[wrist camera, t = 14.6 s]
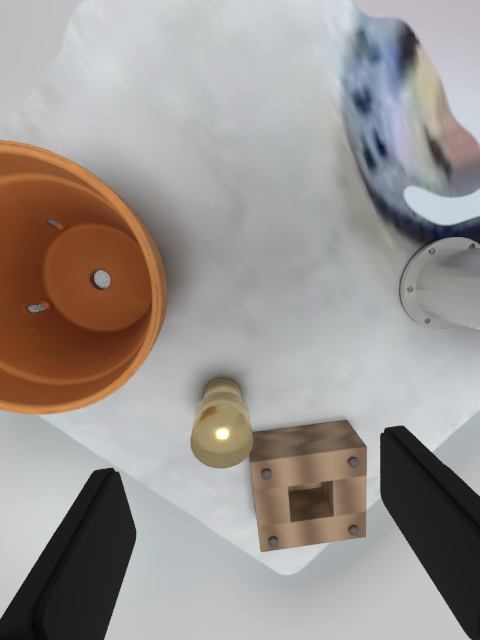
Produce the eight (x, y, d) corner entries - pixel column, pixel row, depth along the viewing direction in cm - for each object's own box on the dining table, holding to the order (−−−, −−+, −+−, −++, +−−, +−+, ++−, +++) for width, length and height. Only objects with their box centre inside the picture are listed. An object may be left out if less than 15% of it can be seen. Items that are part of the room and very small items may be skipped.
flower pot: (123, 155, 31) (36, 69, 17) (216, 304, 36) (211, 335, 22) (-17, 249, 33) (-206, 243, 18) (91, 379, 38) (8, 456, 23)
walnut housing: (346, 420, 41) (368, 449, 35) (347, 500, 45) (367, 540, 39) (246, 433, 41) (250, 465, 35) (256, 513, 45) (261, 555, 39)
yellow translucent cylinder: (243, 371, 39) (249, 410, 29) (248, 412, 40) (255, 463, 30) (195, 377, 38) (185, 418, 28) (202, 418, 40) (195, 472, 30)
